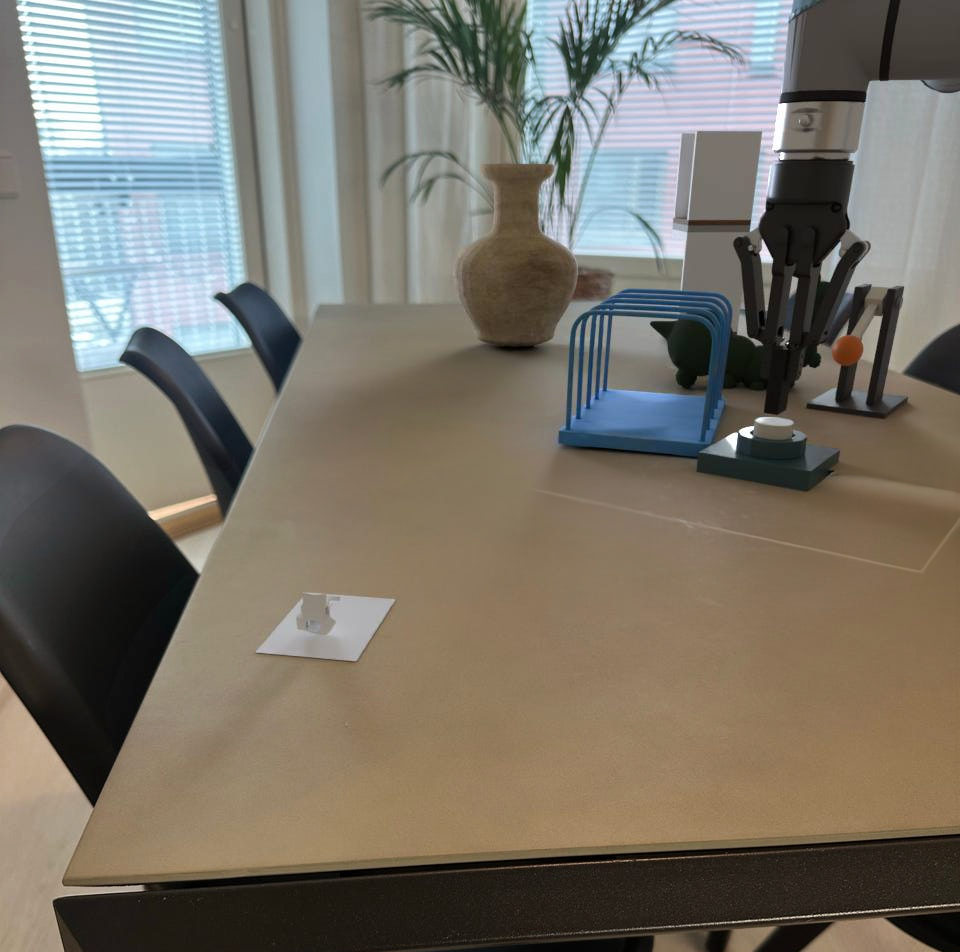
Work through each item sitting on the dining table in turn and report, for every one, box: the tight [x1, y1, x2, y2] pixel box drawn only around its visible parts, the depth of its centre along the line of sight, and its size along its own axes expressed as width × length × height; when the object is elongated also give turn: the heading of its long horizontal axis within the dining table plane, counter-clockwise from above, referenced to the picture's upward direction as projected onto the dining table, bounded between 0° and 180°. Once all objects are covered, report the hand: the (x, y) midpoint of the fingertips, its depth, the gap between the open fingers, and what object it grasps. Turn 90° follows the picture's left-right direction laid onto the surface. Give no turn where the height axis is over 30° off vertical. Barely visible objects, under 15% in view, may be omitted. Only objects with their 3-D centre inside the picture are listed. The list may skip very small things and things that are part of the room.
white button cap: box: [753, 416, 795, 440], centre depth 96 cm, size 4×4×2 cm
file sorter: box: [557, 287, 733, 458], centre depth 111 cm, size 25×17×15 cm
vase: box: [452, 163, 579, 347], centre depth 163 cm, size 22×22×30 cm
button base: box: [696, 425, 841, 493], centre depth 97 cm, size 12×10×4 cm
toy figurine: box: [649, 264, 830, 392], centre depth 131 cm, size 9×19×25 cm
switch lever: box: [831, 286, 890, 366], centre depth 114 cm, size 14×4×4 cm, turn 144°
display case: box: [671, 130, 763, 335], centre depth 169 cm, size 11×11×35 cm
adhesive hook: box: [295, 592, 341, 636], centre depth 63 cm, size 3×3×3 cm
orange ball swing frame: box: [805, 283, 909, 420], centre depth 119 cm, size 12×10×16 cm
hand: (774, 411), depth 96 cm, fingers closed
